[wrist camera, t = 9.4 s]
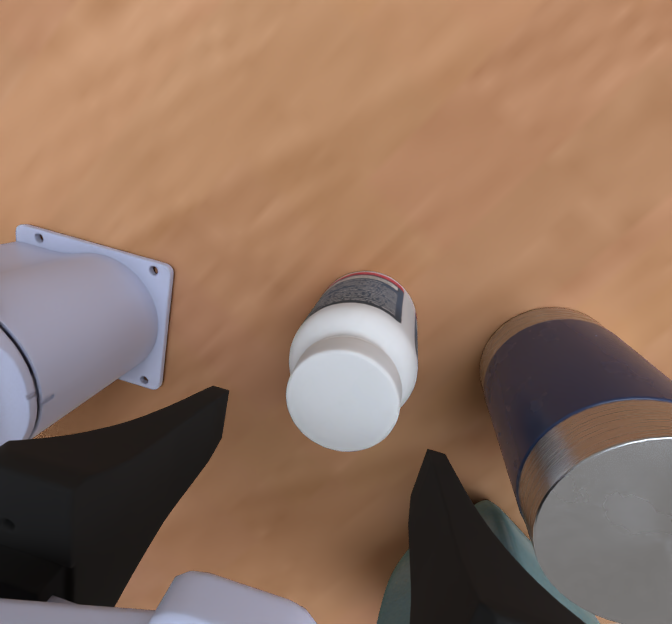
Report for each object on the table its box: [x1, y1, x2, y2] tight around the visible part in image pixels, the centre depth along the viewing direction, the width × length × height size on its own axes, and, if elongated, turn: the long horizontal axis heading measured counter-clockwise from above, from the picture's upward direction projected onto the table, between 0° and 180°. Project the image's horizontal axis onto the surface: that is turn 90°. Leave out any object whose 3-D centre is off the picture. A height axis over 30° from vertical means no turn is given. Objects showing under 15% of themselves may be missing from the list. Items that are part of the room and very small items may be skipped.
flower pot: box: [377, 500, 600, 624], centre depth 22 cm, size 9×9×9 cm
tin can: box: [480, 308, 672, 624], centre depth 17 cm, size 7×7×11 cm
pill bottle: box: [286, 271, 418, 452], centre depth 19 cm, size 5×5×9 cm
